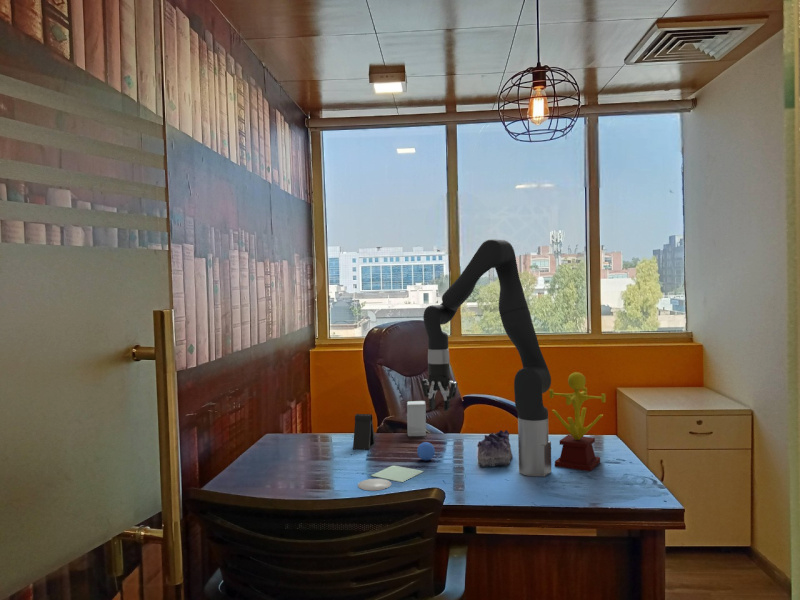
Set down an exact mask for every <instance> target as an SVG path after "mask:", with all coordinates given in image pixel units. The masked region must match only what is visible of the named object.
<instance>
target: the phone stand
mask: <svg viewBox="0 0 800 600" xmlns="http://www.w3.org/2000/svg"><path fill="white" fill-rule="evenodd" d="M353 429H354V431H353V441H352V442H353V443H352V444H353V445H352V450H360V451H362V450H363V451H369V450H371V449H372V448H373V447H374V446H375V445H376V437H375V431H374V423H373V415H372V414H371V413H355V415H354V428H353Z"/></svg>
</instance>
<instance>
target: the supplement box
mask: <svg viewBox="0 0 800 600" xmlns="http://www.w3.org/2000/svg"><path fill="white" fill-rule="evenodd" d="M426 406H427V405H426V401H425V400H413V401H412V400H411V401H407V405H406V414H407V415H406V418H407V422H406V425H407V427H406V428H407V431H406V432H407V436H408V437H425V436H427V419H426V415H427V412H426V411H427V410H426V409H427V407H426Z"/></svg>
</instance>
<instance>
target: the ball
mask: <svg viewBox="0 0 800 600" xmlns="http://www.w3.org/2000/svg"><path fill="white" fill-rule="evenodd" d="M416 451H417V452H416V453H417V456H418V458H419V459H421V460H422V461H430V460H432V459H433V457H434V456H435V453H436V450H435V447H434V445H433V444H432V443H430V442H427V441H424V442H421V443H420V444H419V445H418V446H417V449H416Z"/></svg>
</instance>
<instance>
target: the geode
mask: <svg viewBox="0 0 800 600" xmlns="http://www.w3.org/2000/svg"><path fill="white" fill-rule="evenodd" d="M476 446H477V448H478V449H477V464H478V466H480V467H481V468H486V467H496V466H497V467H500V466H503V467H504V466H506V467H507V466H509V465H511V462H510V461H512V460H513V458H514V457H513V453H512V448H511V444H510V433H509V431H508V430H507V429H505V430H504V431H503V430H502V429H500V430H499V432H498V431H497V432H496V433H494V432H491V433H489V434H488V435H487V434H485V435H484V439H482V440H481V441H478V443H477V445H476Z"/></svg>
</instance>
